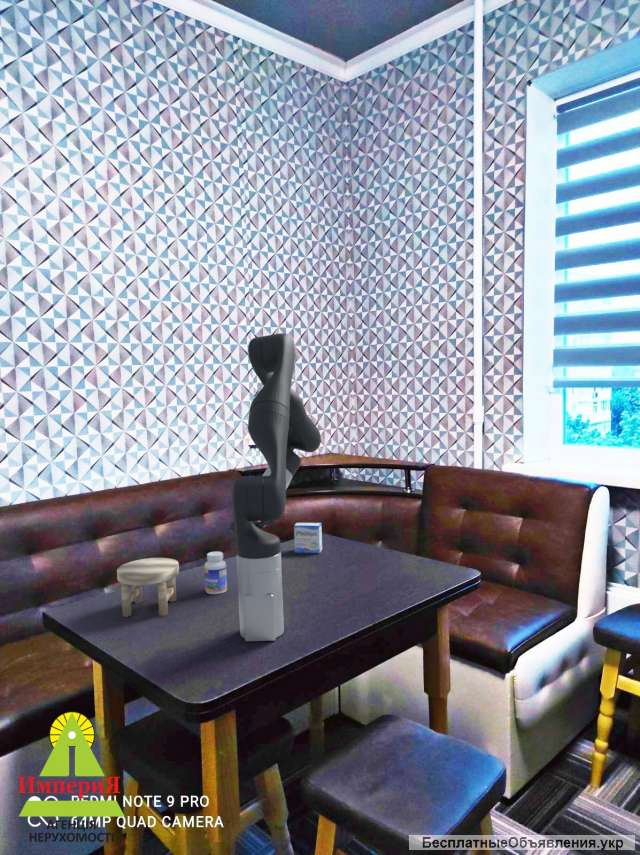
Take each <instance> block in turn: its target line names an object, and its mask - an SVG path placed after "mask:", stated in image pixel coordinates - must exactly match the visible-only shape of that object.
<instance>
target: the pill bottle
mask: <svg viewBox="0 0 640 855" xmlns="http://www.w3.org/2000/svg"><path fill="white" fill-rule="evenodd" d="M223 559H224V553H223V552H222V551H218V550H217V551H210V552H208V553H206V560H207V561H206V562H205V563H204V584H205V585H204V586H205V589H204V590H205V592H206V593H207V594H209V595H219V594H223V593H225V592H226V591H227V589H228V582H227V577H228V576H227V563H226V561H225V560H223Z"/></svg>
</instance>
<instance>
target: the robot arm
mask: <svg viewBox="0 0 640 855" xmlns="http://www.w3.org/2000/svg"><path fill="white" fill-rule="evenodd" d="M295 348H296V347H295V342H294V340H293V338H292V337H291V336H290V335H289V334H288V333H283V332H280V333H274V334H269V335H264V336H263V335H262V336H257V337H254V338H252V339H250V341H249V342H248V348H247V352H248V353H247V355H248V359H249V363H250V364H251V367H252V370H253V371H254V373H255V374H256V377H257V378H258V379H259V380H260V382H261V384H262V388H260V390H259V391H258V392H257V394H255V396H254V398H253V399H252V401H251V403H250V406H249V412H248V413H249V414H248V422H247V432H248V434H249V437H250V438H251V440H252V442H253V443H254V444H255V446H256V447H257V449H258V451H260V453H261V454H262V456H263V457H264V459H265V461H266V464H267V465H268V467H267V468H266V470H265V471H264V473H263V474H262V475H253V476H252V475H249V476H248V475H247V476H239V477H237V478H235V480H234V481H233V484H232V490H231V501H232V515H233V521H232V522H231V524H230V526H229V530H230V531H231V532H232V533H233V534H234V536H235V548H236V549H235V550H236V569H237V570H236V571H237V572H236V573H237V592H238V594H237V595H238V614H239V634H240V637H241V638H243V639H244V641H245V642H264V641H265V642H267V641H269V642H270V641H271V642H272V641H276V640H277V638H278V637H280V636H281V635H282V634H284V631H285V624H284V620H285V618H284V602H283V601H284V600H283V599H284V598H283V597H284V596H283V576H282V574H283V573H282V549H281V548H282V545H281V543H282V542H281V540H280V538H279V536H277V535H276V534H273V533H270V532H268V531H265V530H263V528H265V527H267V526H268V527H271V526H272V525H273V523H274V522H275V521H279V520H280V519H282V518H283V516H284V515H285V511H286V504H287V503H286V502H287V489H288V487H289V486H290V483H291V481H292V479H293V478H294V476H295V474H296V472H297V471H298V470H299V468H300V466H301V462H302V460H301V458H300V455H298V454H297V453H296V452H294V450H295V449H296V450H299V451H302V452H305V453H313V452H316V451H317V450H318V449H319V448H320V447H321V446H320V445H321V443H322V442H321V441H322V438H321V437H322V436H321V433H320V430H319V429H318V427H317V426H316V424H315V422H314V421H313V420H312V419H311V417H310V416H309V415H308V413H307V411H306V408H305V406H304V402H303V400H302V398H301V397H300V394H298V392H297V391H295V390H294V389H293V388H292V380H293V374H294V371H295V370H294V369H295V368H294V367H295V363H296V362H295V361H296V349H295ZM253 522H255V523H253Z"/></svg>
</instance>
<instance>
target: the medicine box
mask: <svg viewBox="0 0 640 855" xmlns="http://www.w3.org/2000/svg"><path fill="white" fill-rule="evenodd" d="M293 530H294V531H293V532H294V533H293V534H294V535H293V536H294V537H293V538H294V553H295V554H321V552H322V550H323V534H322V533H323V532H322V531H323V530H322V522H296V523H295V524H294V526H293Z"/></svg>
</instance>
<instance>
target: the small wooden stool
mask: <svg viewBox="0 0 640 855" xmlns="http://www.w3.org/2000/svg"><path fill="white" fill-rule="evenodd" d="M179 565H180V563H179V561H178V560H177V559H174V558H169V557H168V558H167V557H148V558H141V559H137V560H132V561H130V562H129V561H128V562H126V563H124V564H121V565H119V566H118V568H117V569H116V576H117V577H116V579H117V582H119V583H120V594H121V597H120V598H121V608H122V609H121V612H122V617H123V616H124V617H123V618H129V617H131V616H132V615H133V612H132V603H134V602H135V603H134V604H140V603H139V602H141V601H142V602H143V593H142V592H143V590H142V586H147V585H154V584H156V585H157V596H158V598H157V600H158V615H159V617H160V616H161V617H163V616H164V617H165V616H167V615H169V606H168V605H169V604H168V601H169V603H174V601H175V602H177V584H176V580H177V579H176V577H177V576H178V575H179V573H180V567H179ZM131 586H132V590H131ZM142 602H141V603H142ZM128 616H129V617H128Z"/></svg>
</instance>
